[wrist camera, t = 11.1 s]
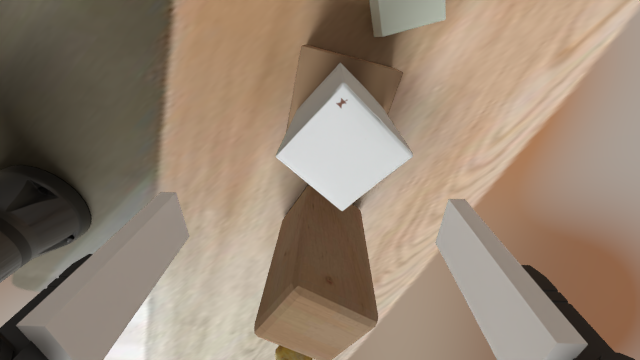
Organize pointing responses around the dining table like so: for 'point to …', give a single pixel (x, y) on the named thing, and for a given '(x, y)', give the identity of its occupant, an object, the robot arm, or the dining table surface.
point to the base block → (369, 74)
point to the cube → (404, 15)
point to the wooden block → (318, 281)
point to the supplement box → (342, 140)
